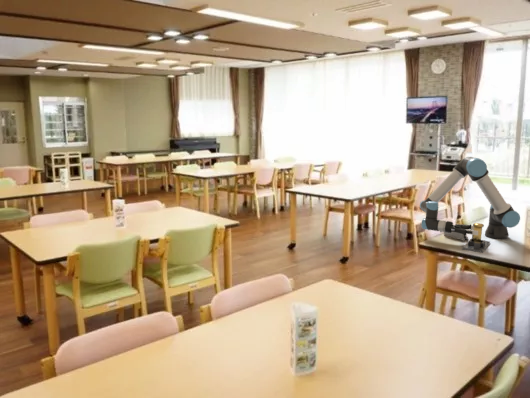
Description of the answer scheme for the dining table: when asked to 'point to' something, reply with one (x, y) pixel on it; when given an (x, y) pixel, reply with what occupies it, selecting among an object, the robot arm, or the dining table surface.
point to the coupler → (478, 228)
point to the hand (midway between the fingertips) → (480, 231)
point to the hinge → (456, 235)
